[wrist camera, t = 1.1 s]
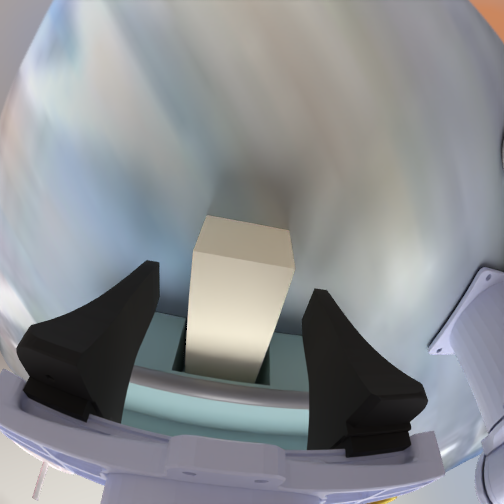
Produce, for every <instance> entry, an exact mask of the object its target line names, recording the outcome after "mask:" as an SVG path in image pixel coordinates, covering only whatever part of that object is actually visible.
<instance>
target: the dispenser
mask: <svg viewBox="0 0 504 504" xmlns="http://www.w3.org/2000/svg"><path fill="white" fill-rule="evenodd" d="M185 322H186V318H183V317H178V316H173V315H168V314H163V313H158V312H155V314H154V316H153V318H152V321H151V323H150V325H149V328H148V330H147V332H146V335H145V337H144V339H143V342H142V344H141V346H140V349H139V351H138V354H137V356H136V359H135V363H134V366H133V370H132V374H131V378H130V382H129V386H128V390H127V394H126V399H125V404H124V409H123V415H122V421H121V424H123V425H127V426H130V427H134V428H138V429H142V430H145V431H150V432H154V433H158V434H162V435H167V436H172V437H174V436H178V435H196V436H203V437H209V438H217V439H224V440H232V441H242V442H253V443H265V444H271V445H276V446H278V447H280V448H282V449H284V450H307V441H308V426H309V381H308V373H307V366H306V359H305V353H304V346H303V339H302V336H300V335H291V334H283V333H276V332H273V335H272V338H271V341H270V343H269V346H268V349H267V351H266V354H265V357H264V360H263V362H262V365H261V367H260V370H259V373H258V375H257V378H256V381H255V383H254V384H252V383H244V382H237V381H230V380H223V379H217V378H211V377H205V376H199V375H193V374H188V373H185V365H184V349H185Z"/></svg>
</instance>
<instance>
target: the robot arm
mask: <svg viewBox="0 0 504 504" xmlns="http://www.w3.org/2000/svg"><path fill="white" fill-rule="evenodd" d="M159 297H160V291H159V262H154V261H148V260H147V261H145V262H144V263H143V264H141V265H140V266H139V267H138V268H137V269H135V270H134V271H133V272H132V273H131V274H129V275H128V276H127V277H126V278H124V279H123V280H122V281H121V282H119V283H118V284H117V285H115V286H114V287H113V288H111V289H110V290H109V291H107V292H106V293H104V294H103V295H101V296H100V297H98V298H97V299H95V300H93V301H91V302H90V303H88V304H86V305H84V306H82V307H80V308H78V309H76V310H74V311H72V312H70V313H67V314H65V315H62V316H60V317H57V318H54V319H51V320H48V321H44V322H41V323H37V324H34V325H31V326H30V327H29V329H28V330H27V332H26V333H25V335H24V336H23V338H22V340H21V341H20V343H19V344H18V346H17V348H16V350H17V355H18V357H19V360H20V361H21V363H22V365H23V366H24V368H25V370H26V371H27V373H28V375H29V376H30V377H29V379H28V381H27V382H26V381H25V380H24V379H23V378H21V377H19V376H17V375H16V374H14V373H12V372H10V371H8V370H6V369H3V370H2V371H1V373H0V431H1V432H2V433H3V434H4V435H5V436H6V437H8V438H9V439H11V440H13V441H14V442H16V443H18V444H19V445H21V446H23V447H25V448H26V449H28V450H30V451H32V452H33V453H35V454H37V455H39V456H41V457H43V458H45V459H46V460H48V461H50V462H52V463H54V464H56V465H58V466H60V467H62V468H64V469H66V470H68V471H71V472H73V473H75V474H77V475H79V476H82V477H84V478H86V479H89V480H91V481H94V482H96V483H99V484H101V485H104V486H105V487H104V491H103V495H102V500H101V504H366V503H371V502H375V501H380V500H384V499H388V498H392V497H396V496H400V495H404V494H407V493H411V492H414V491H416V490H418V489H420V488H422V487H424V486H426V485H428V484H430V483H432V482H434V481H436V480H437V479H439V478H441V477H443V476H444V475H445V470H444V466H443V462H442V458H441V455H440V451H439V447H438V444H437V440H436V437H435V433H434V431H429V432H423V433H418V434H414V435H412V436H410V437H409V433H408V431H409V430H411V424H410V421H412V420H413V419H414V418H415V417H416V416H417V415H418V414H420V413H421V412H422V411H423V409H424V408H425V407H426V405H427V403H428V399H427V396H426V393H425V390H424V388H423V385H422V384H421V383H420V382H418V381H416V380H415V379H413V378H411V377H409V376H408V375H406V374H405V373H403V372H402V371H400V370H399V369H398V368H396V367H395V366H393V365H392V364H391V363H390V362H388V361H387V360H386V359H385V358H384V357H382V356H381V355H380V354H379V353H378V352H377V351H376V350H375V349H374V348H373V347H372V346H371V345H370V344H369V343H368V342H367V341H366V340H365V339H364V338H363V337H362V336H361V335H360V334H359V332H358V331H357V330H356V329H355V328H354V326H353V325H352V324H351V323H350V321H349V320H348V319H347V317H346V316H345V315H344V313H343V312H342V311H341V309H340V308H339V306H338V305H337V304H336V302H335V301H334V299H333V298H332V297H331V295H330V294H329V293H328V291H327V290H321V289H314V291H313V294H312V296H311V299H310V301H309V304H308V306H307V309H306V311H305V314H304V316H303V319H302V339H303V346H304V353H305V359H306V366H307V373H308V381H309V426H308V441H307V450H284V449H282V448H280V447H278V446H276V445H271V444H265V443H253V442H242V441H232V440H224V439H217V438H209V437H203V436H196V435H178V436H174V437H172V436H167V435H162V434H158V433H154V432H150V431H145V430H142V429H138V428H134V427H130V426H127V425H123V424H121V421H122V415H123V409H124V404H125V399H126V394H127V390H128V386H129V382H130V378H131V374H132V370H133V366H134V363H135V359H136V356H137V354H138V351H139V349H140V346H141V344H142V342H143V339H144V337H145V335H146V332H147V330H148V328H149V325H150V323H151V321H152V318H153V316H154V314H155V310H156V307H157V304H158V300H159ZM428 352H429V354H455V355H456V357H457V359H458V362H459V364H460V366H461V368H462V370H463V372H464V375H465V377H466V379H467V381H468V384H469V386H470V388H471V391H472V393H473V395H474V398H475V400H476V403H477V405H478V408H479V410H480V413H481V415H482V418H483V421H484V424H485V426H486V429H487V432H488V434H489V435H488V436H487V437H485V438H484V439H483V440H482V441H481V443H482V447H483V452H482V453H481V455H480V457H479V459H478V462H477V467H476V472H475V489H476V494H477V497H478V500H479V502H480V504H504V272H502V271H498V270H494V269H491V268H487V267H483V268H481V269H480V270H479V271H478V273H477V275H476V276H475V278H474V280H473V282H472V283H471V285H470V287H469V288H468V290H467V292H466V293H465V295H464V297H463V298H462V300H461V301H460V303H459V305H458V306H457V308H456V309H455V311H454V312H453V314H452V315H451V317H450V318H449V320H448V321H447V323H446V324H445V325H444V327H443V328H442V330H441V331H440V332H439V334H438V335H437V337H436V338H435V339H434V341H433V342H432V343H431V345H430V346H429V348H428Z"/></svg>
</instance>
